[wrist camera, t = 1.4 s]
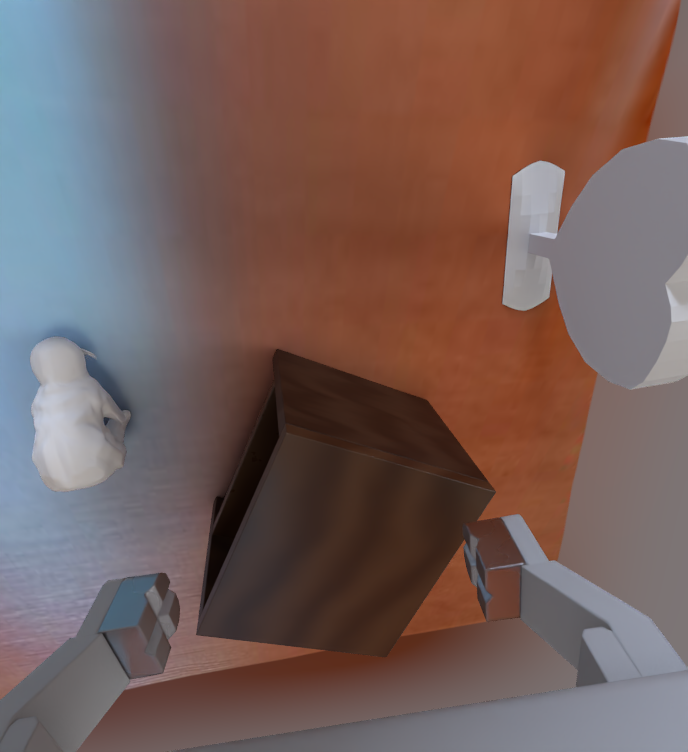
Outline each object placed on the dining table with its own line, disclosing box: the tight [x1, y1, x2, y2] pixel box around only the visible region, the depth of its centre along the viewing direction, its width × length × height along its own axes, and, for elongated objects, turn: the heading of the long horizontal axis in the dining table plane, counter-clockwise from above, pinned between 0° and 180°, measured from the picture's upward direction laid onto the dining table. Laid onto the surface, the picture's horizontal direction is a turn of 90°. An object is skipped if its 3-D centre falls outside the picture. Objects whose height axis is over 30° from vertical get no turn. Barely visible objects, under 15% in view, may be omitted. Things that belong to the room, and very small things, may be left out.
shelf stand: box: [196, 349, 496, 657], centre depth 40 cm, size 17×19×15 cm
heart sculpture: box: [502, 136, 688, 389], centre depth 33 cm, size 16×5×18 cm, turn 5°
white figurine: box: [30, 336, 131, 492], centre depth 36 cm, size 6×8×12 cm
